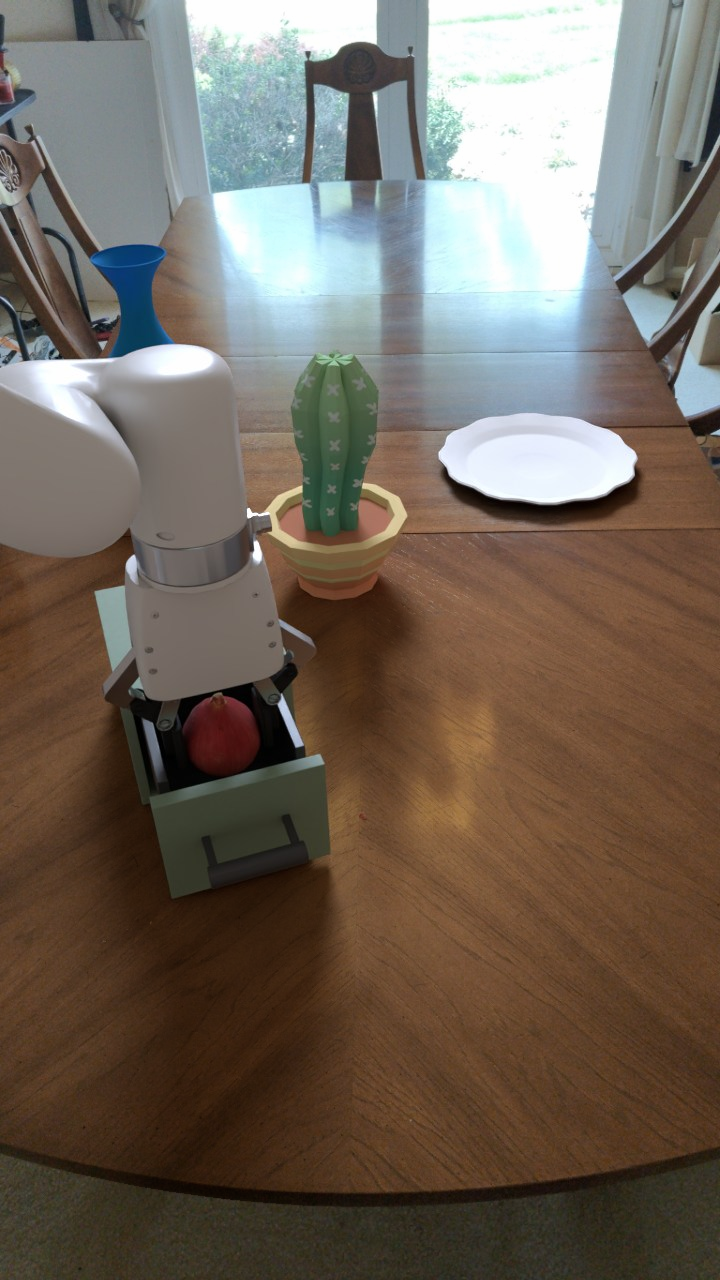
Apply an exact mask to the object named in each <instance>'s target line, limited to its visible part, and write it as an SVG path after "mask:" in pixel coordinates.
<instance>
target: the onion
mask: <svg viewBox="0 0 720 1280" xmlns="http://www.w3.org/2000/svg"><path fill="white" fill-rule="evenodd" d="M183 737H184V743H185V748H186V754H187V758H188V759H189V760H190V761H191V763H192V764H193V765H194V766H195V767H196V768H198V769H199V770H201V771H203V772H205V773H207V774H209V775H213V776H220V777H224V776H231V775H234V774H236V773H239V772H241V771H243V770H244V769H245V768H247V767H248V766H249V765H250V764H251V763H252V762H253V760H254V758H255V756H256V754H257V752H258V750H259V748H260V728H259V724H258V721H257V719H256V718H255V716H254V715H253V713H252V712H251V711H250V709H249V708H248V707H247V706H246V705H244V704H243V703H241V702H239V701H237V700H236V699H234V698H230V697H226V696H223V695H222V693H216V694H215V695H213V696H212V697H210V698H207V699H205V700H203V701H202V702H201V703H199V704H198V705H197V706H196V707H195V708H194V709H193V710H192V711H191V713H190V715H189V717H188V718H187V720H186V722H185V724H184V727H183Z"/></svg>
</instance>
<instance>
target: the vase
mask: <svg viewBox="0 0 720 1280" xmlns="http://www.w3.org/2000/svg"><path fill="white" fill-rule="evenodd" d="M166 256H167V251H166V249H165V248H163V247H161V246H158V245H153V244H143V243H142V244H141V243H137V244H135V243H133V244H124V245H122V244H121V245H117V246H112V247H107V248H105V249H101V250H98V251H97V252H95V253H94V254H92V255H91V256H90V258H89V261H90V263H91V264H92V265H93V266H94V267H96V269H98V270H99V271H100V272H102V273H103V274H104V275H105V276H106V277H107V279H108V280H109V281H110V283H111V284H112V286H113V288H114V291H115V293H116V296H117V300H118V305H119V310H120V311H119V312H120V324H119V329H118V334H117V336H116V340H115V342H114V345H113V347H112V349H111V351H110V353H109V355H108V356H107V358H118V357H123V356H125V355H127V354H129V353H131V352H134V351H137V350H140V349H143V348H147V347H152V346H158V345H168V344H176V343H175V342H174V341H173V339H172V338H171V337H170V336H169V335H168V334H167V332H166V331H165V329H164V328H163V326H162V324H161V323H160V321H159V318H158V316H157V314H156V311H155V307H154V302H153V301H154V299H153V282H154V278H155V275H156V272H157V270H158V268H159V267H160V264H161V263H162V261H163V260H164V259H165V258H166Z"/></svg>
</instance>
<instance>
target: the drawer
mask: <svg viewBox="0 0 720 1280" xmlns="http://www.w3.org/2000/svg"><path fill="white" fill-rule="evenodd" d="M251 688H253V683H252V682H250V683H246V684H242V685H238V686H234V687H230V688H225V689H221V690H217V691H212V692H208V693H204V694H199V695H195V696H190V697H185V698H181V701H180V704H179V708H178V711H177V714H178V717H179V720H180V724H181V727H182V732H183V727H184V724H185V722H186V720H187V718H188V717H189V715H190V713H191V711H192V710H193V709H194V708H195V707H196V706H197V705H198V704H199V703H201V702H202V701H203V700H205V699H207V698H210V697H212V696H213V695H215V694H216V693H222V695H223V696H226V697H230V698H234V699H236V700H237V701H239V702H241V703H243V704H244V705H246V706H247V707H248V708H249V709H250V711H251V712H252V713H253V715H254V708H253V700H252V692H251ZM281 696H282V699H281V701H280V702H279V703H278V704H277V709H278V719H279V728H278V729H274V730H272V731H273V740H274V746H272V747H268V748H267V746H265V747H264V745H263V742H262V739H261V737H260V748H259V750H258V752H257V754H256V756H255V758H254V760H253V762H252V763H251V764H250V765H249V766H248V767H247V768H245V769H244V770H243V771H241V772H239V773H236V774H234V775H231V776H224V777H220V776H213V775H209V774H207V773H205V772H203V771H201V770H199V769H198V768H196V767H195V766H194V765H193V764H192V763H191V761H190V760H189V759H188V758H187V759H188V766H186V768H183V769H179V766H178V762H177V759H176V755H175V754H171V755H167V756H166V753H165V749H164V745H163V740H162V735H161V731H160V730H159V729H158V728H157V726H156V724H154V723H152V722H150V721H147V720H145V719H143V718H141V717H140V721H141V725H142V730H143V734H144V739H145V744H146V748H147V753H148V757H149V762H150V766H151V771H152V775H153V779H154V783H155V787H156V791H157V795H156V796H152V797H150V798H149V799H150V803H149V804H150V808H151V812H152V817H153V821H154V825H155V830H156V834H157V839H158V844H159V848H160V853H161V856H162V857H161V858H162V861H163V865H164V871H165V874H166V879H167V883H168V888H169V891H170V892H169V894H170V896H171V899H172V900H173V899H177V898H181V897H184V896H188V895H191V894H195V893H198V892H202V891H206V890H209V889H211V890H216V889H219V888H223V887H225V886H226V887H227V886H230V885H233V884H237V883H241V882H245V881H248V880H252V879H255V878H258V877H262V876H266V875H269V874H273V873H276V872H279V871H283V870H287V869H291V868H294V867H297V866H300V865H304V864H308V863H309V862H310V861H311V860H316V859H318V858H322V857H327V856H330V855H331V854H332V851H331V837H330V836H331V835H330V821H329V804H328V803H329V802H328V791H327V773H326V763H325V761H324V758H323V756H322V755H321V753H317V754H314V755H310V756H307V753H306V744H305V742H304V740H303V738H302V735H301V733H300V731H299V728H298V726H297V724H295V722H296V720H295V721H294V719H293V717H292V714H291V712H290V710H289V707H288V705H287V703H286V700H285V698H284V696H283V693H281Z"/></svg>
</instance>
